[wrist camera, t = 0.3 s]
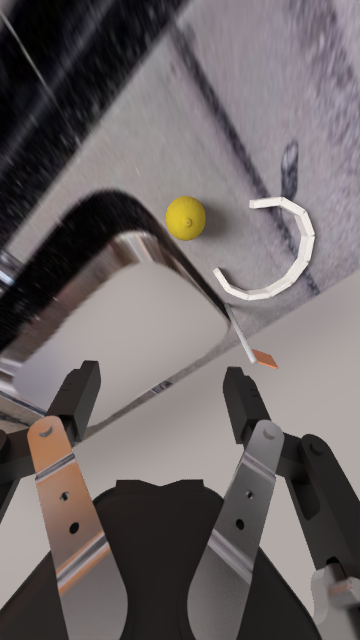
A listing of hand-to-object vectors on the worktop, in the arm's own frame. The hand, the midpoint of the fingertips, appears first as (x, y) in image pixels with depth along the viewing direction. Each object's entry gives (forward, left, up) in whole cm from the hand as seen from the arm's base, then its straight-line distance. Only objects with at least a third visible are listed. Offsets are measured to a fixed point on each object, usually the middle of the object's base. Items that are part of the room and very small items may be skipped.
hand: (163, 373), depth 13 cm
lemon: (-7, 0, -27) cm, 28 cm away
